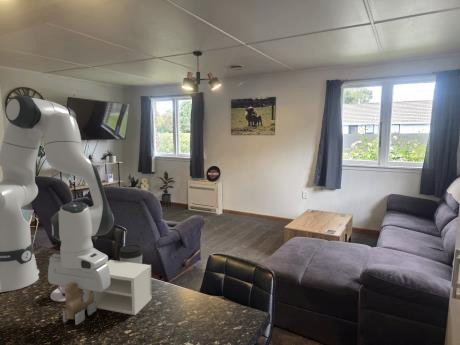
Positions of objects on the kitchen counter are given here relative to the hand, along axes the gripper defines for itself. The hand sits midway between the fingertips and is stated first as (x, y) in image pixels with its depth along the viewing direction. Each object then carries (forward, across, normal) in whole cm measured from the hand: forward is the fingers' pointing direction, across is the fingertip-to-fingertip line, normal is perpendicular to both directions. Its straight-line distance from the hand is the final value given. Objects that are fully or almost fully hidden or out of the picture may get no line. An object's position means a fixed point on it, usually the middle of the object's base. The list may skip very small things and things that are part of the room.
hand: (79, 300), depth 92 cm
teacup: (+6, -14, +10) cm, 18 cm away
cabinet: (+5, +7, +5) cm, 10 cm away
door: (+4, 0, 0) cm, 4 cm away
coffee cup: (+5, +5, +20) cm, 21 cm away
